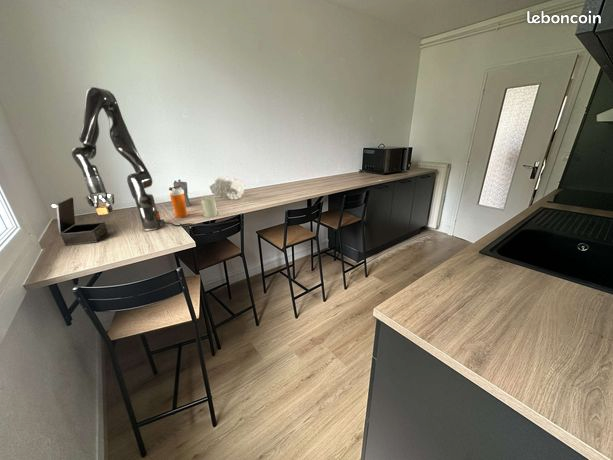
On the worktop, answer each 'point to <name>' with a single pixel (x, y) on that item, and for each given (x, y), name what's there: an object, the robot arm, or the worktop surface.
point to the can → (209, 206)
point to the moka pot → (184, 187)
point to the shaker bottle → (178, 201)
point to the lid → (65, 214)
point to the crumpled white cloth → (227, 187)
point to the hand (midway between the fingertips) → (105, 212)
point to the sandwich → (102, 210)
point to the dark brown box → (84, 233)
